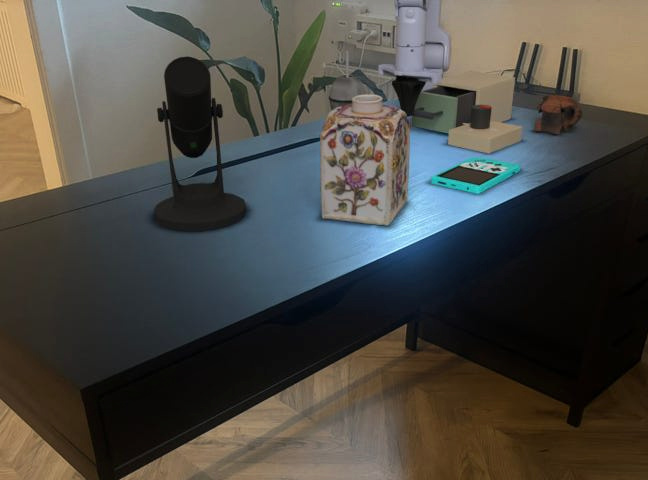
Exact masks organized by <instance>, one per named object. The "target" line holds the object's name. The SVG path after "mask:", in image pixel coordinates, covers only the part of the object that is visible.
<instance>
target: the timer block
mask: <svg viewBox="0 0 648 480" xmlns="http://www.w3.org/2000/svg"><path fill="white" fill-rule="evenodd" d="M463 124H466V125H463V126H460V127H457V128H454V129H451V130H449V134H448V138H447V139H448V140H447V145H448V146H452V147H457V148H462V149H467V150H470V151H476V152H478V153H479V152H480V153H484V154H487V155H488V154H492V153H494V152H497V151H499V150H502V149H505V148H507V147H509V146H512V145H514V144H517V143H519V142H522V135H523V126H521V125H515V124H510V123H505V122H495V121H490V127H489V128H488V129H474V128H471V127H470V123H468V124H467V123H463Z"/></svg>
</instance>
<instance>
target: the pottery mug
mask: <svg viewBox="0 0 648 480" xmlns="http://www.w3.org/2000/svg"><path fill="white" fill-rule="evenodd" d="M536 109H537V110H538V109H539V110H538V112H537V113H538V114H541V119H539V120H535V122H534V132H545V133H548V134H549V133H550V134H553V135H554V134H555V135H560V132H561V130H562V127H563V129H564V131H571V130H572V128H573V127H574V126H575V125H576V124H578V123H579V121H580V120H581V119H582V117H583V109H582V107H581V106H579V105H578V101H577V100H576V99H574V98H572V97H569V96H567V95H560V94H550V95H549V94H548V95H545V96H543V97H542V102H540V103H539V104H538V105H537V106H536Z"/></svg>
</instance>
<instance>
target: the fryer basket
mask: <svg viewBox="0 0 648 480" xmlns="http://www.w3.org/2000/svg"><path fill="white" fill-rule="evenodd" d="M476 92H477V91H472V90H466V89H459V88H453V87H447V86H439V87H435V88H432V89H428V90H424V91H423V92H422V91H421V93H420V95H419V97H418V100H417V102H416V105H415V109H414V112H413V116H411V126H412V127H416V128H421V129H425V130H426V129H427V130H430V131H434V132H440V133H444V134H448V135H449V130H451V129H454V128H457V127H460V126H463V125H466V124H463V123H467V124H468V123H470V121H471V110H472V106H474V105H475V103H476ZM411 126H410V127H411Z"/></svg>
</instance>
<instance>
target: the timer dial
mask: <svg viewBox="0 0 648 480" xmlns="http://www.w3.org/2000/svg"><path fill="white" fill-rule="evenodd" d="M491 109H492V107H491V106H488V105H474V106H472V110H471V121H470V127H471V128H474V129H488V128H489V127H490V119H491Z"/></svg>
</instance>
